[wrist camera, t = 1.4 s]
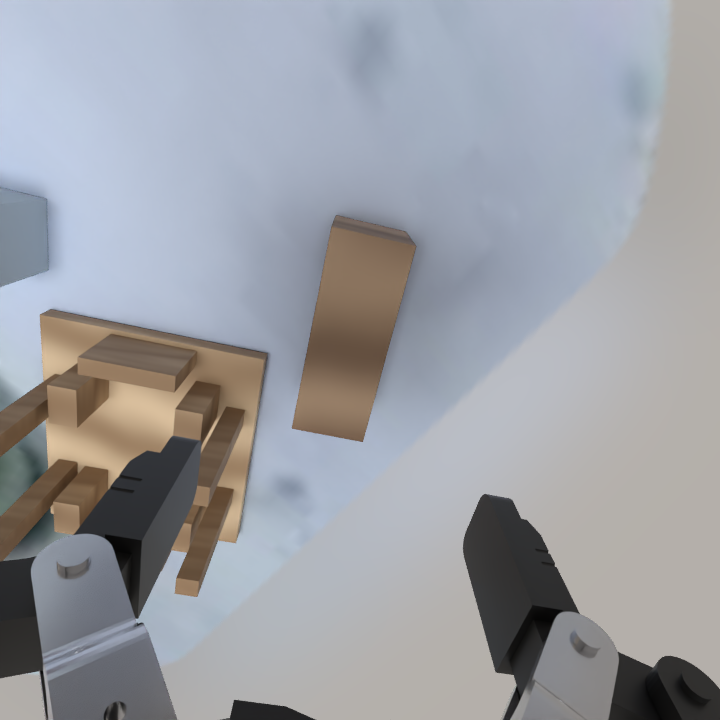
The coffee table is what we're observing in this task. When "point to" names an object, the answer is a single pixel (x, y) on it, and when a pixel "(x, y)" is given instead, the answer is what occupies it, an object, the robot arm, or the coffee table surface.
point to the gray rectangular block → (22, 236)
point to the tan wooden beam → (352, 327)
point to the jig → (135, 426)
